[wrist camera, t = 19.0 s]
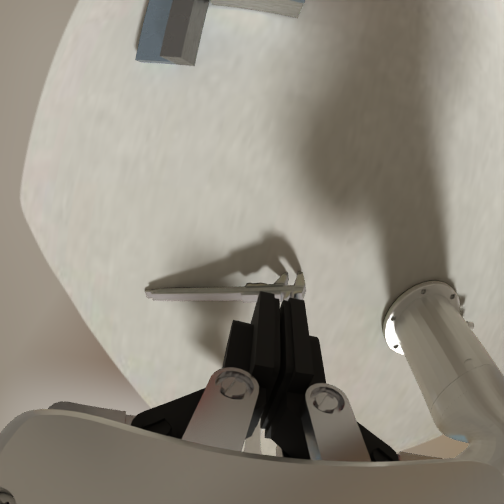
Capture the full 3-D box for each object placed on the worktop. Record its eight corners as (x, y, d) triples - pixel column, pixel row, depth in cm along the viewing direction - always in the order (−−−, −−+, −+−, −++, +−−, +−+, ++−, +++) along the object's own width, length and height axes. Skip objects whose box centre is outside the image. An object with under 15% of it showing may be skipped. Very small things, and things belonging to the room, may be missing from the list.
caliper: (302, 269, 39) (308, 296, 34) (302, 276, 40) (309, 305, 34) (145, 289, 41) (129, 316, 35) (147, 296, 42) (132, 324, 36)
